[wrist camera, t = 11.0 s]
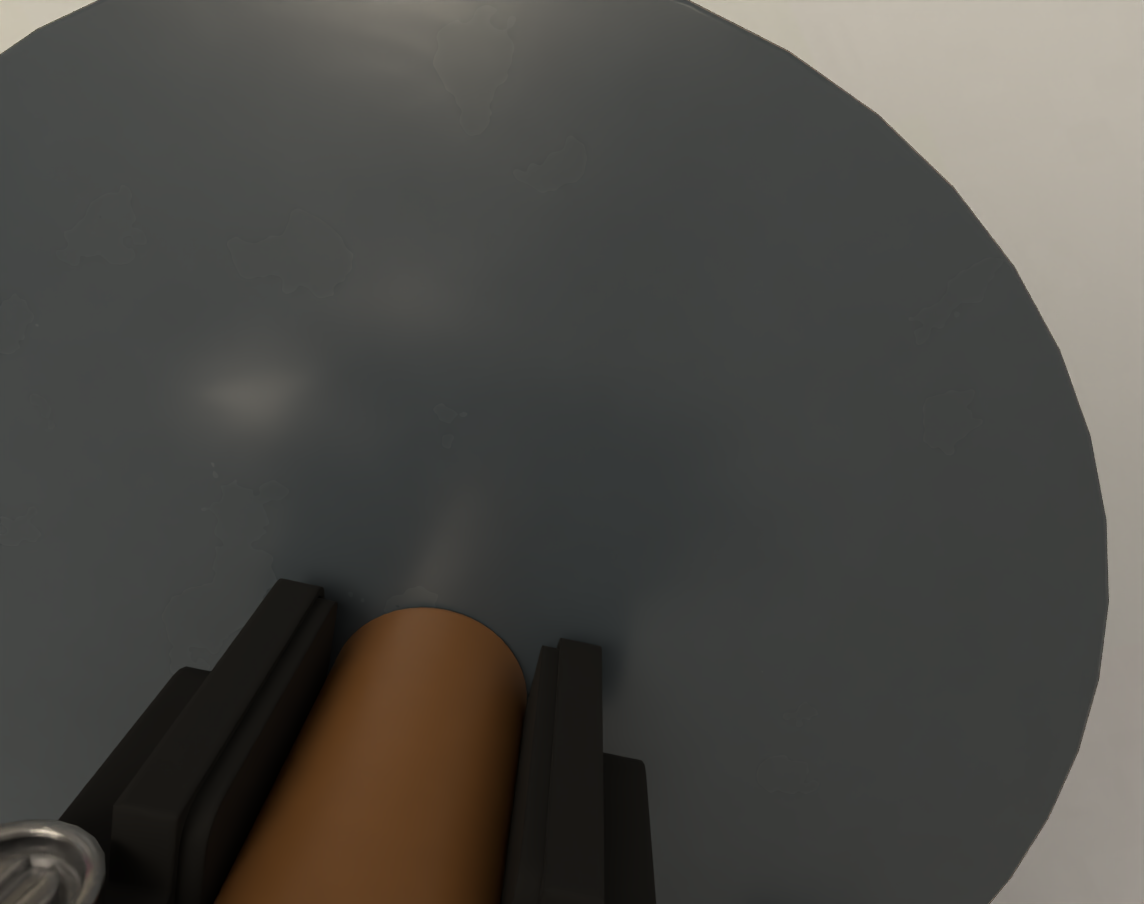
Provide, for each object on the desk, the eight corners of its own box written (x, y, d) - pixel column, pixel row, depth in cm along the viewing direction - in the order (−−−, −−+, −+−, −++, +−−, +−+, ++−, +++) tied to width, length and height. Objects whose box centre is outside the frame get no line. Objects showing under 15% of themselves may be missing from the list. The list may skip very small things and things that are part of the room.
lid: (1309, 168, 10) (2296, 203, 4) (824, 1132, 16) (956, 1699, 10) (-220, -221, 9) (-1664, -867, 3) (-131, 955, 15) (-590, 1469, 9)
